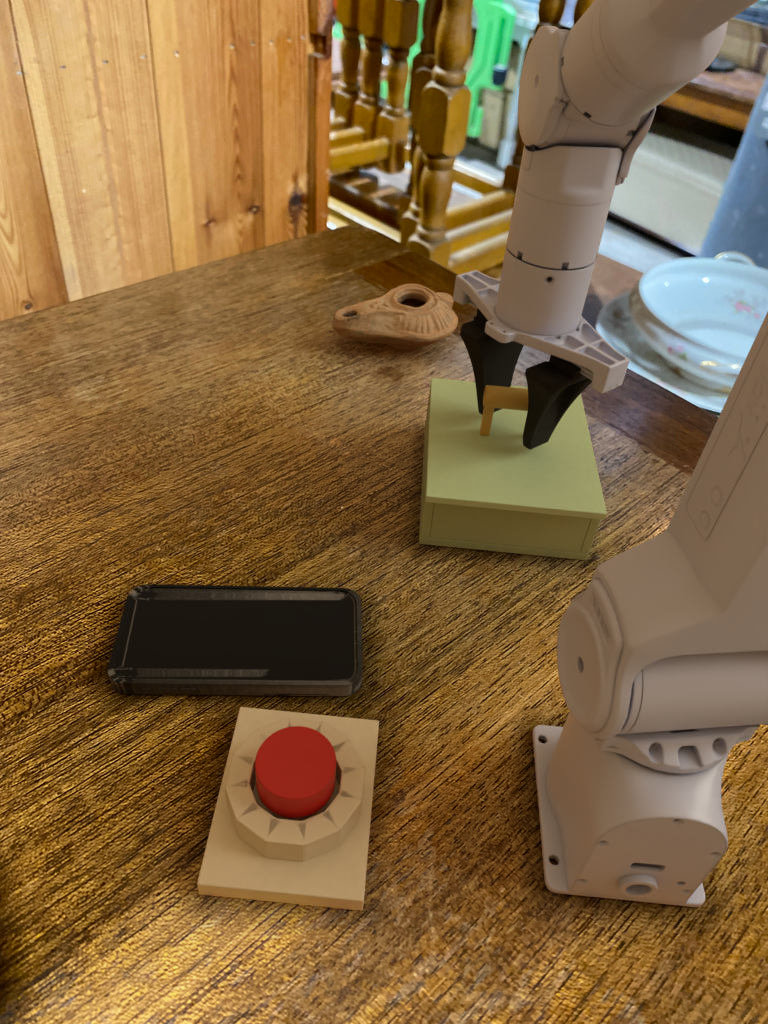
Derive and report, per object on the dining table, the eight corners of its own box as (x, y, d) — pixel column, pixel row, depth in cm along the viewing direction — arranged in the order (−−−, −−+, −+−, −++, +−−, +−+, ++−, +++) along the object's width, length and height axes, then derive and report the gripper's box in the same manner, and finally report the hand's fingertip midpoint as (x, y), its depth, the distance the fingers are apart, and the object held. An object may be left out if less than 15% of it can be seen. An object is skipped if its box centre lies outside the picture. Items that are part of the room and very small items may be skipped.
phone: (130, 583, 51) (360, 587, 52) (133, 595, 51) (360, 599, 53) (102, 684, 45) (363, 686, 46) (106, 696, 46) (362, 698, 47)
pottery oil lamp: (317, 326, 79) (337, 256, 78) (422, 357, 84) (443, 293, 82) (339, 339, 72) (362, 262, 70) (452, 373, 76) (477, 302, 74)
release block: (362, 911, 38) (365, 885, 36) (198, 894, 38) (192, 867, 36) (377, 731, 45) (381, 701, 43) (241, 717, 45) (238, 687, 43)
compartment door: (605, 520, 53) (624, 466, 50) (425, 502, 53) (432, 447, 50) (579, 398, 65) (593, 347, 62) (430, 383, 65) (437, 332, 62)
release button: (330, 822, 38) (331, 802, 37) (249, 814, 38) (247, 794, 37) (339, 750, 41) (340, 729, 40) (264, 742, 41) (263, 721, 40)
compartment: (587, 560, 57) (603, 513, 54) (418, 544, 57) (425, 495, 54) (566, 443, 68) (578, 398, 65) (424, 429, 68) (430, 384, 65)
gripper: (430, 221, 52) (410, 395, 61) (595, 313, 43) (544, 498, 52) (507, 204, 55) (478, 370, 64) (673, 286, 47) (613, 464, 56)
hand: (512, 426), depth 58 cm, fingers closed on compartment door, 4 cm apart
